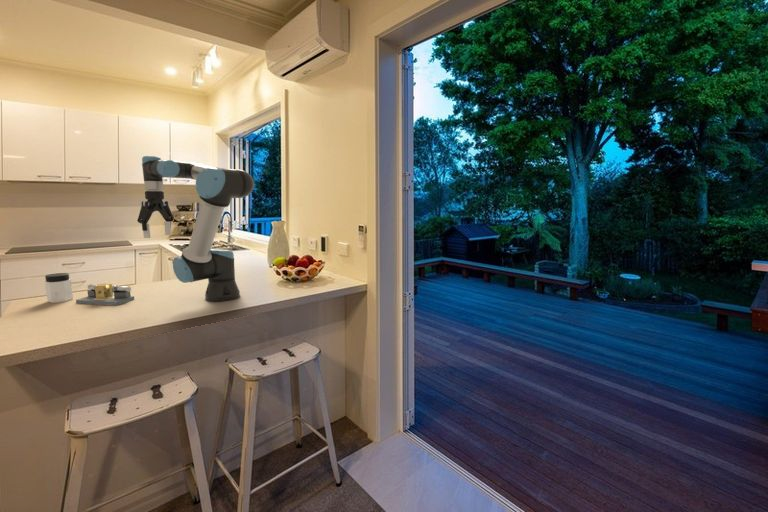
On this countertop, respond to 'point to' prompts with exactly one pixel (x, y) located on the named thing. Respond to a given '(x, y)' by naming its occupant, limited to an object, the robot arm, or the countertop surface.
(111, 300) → the board
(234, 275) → the robot arm
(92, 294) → the shaft
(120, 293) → the grey metal block
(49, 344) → the countertop surface
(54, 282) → the jar
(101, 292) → the coupler
